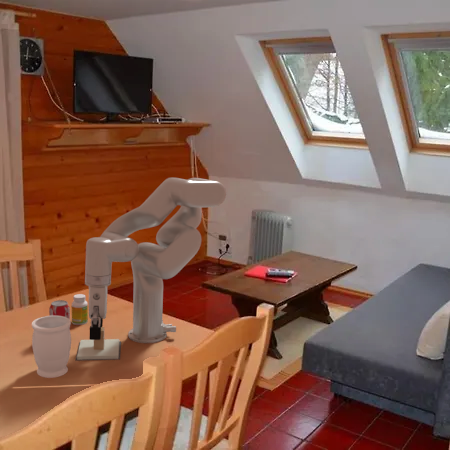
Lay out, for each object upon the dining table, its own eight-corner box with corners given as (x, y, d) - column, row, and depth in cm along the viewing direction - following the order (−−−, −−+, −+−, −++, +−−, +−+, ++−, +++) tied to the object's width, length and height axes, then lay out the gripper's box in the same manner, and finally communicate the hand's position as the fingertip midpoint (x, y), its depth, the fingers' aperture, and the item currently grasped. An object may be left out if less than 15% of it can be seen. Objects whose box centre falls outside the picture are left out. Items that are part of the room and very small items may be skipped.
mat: (121, 342, 180) (121, 341, 180) (120, 360, 167) (120, 359, 167) (79, 343, 178) (79, 342, 178) (75, 361, 165) (75, 360, 165)
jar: (26, 370, 158) (24, 320, 155) (59, 360, 166) (59, 312, 162) (44, 384, 151) (43, 332, 148) (78, 373, 158) (78, 323, 155)
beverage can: (64, 343, 177) (63, 307, 175) (46, 340, 178) (45, 305, 176) (73, 335, 183) (73, 300, 181) (55, 333, 184) (55, 298, 182)
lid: (119, 341, 179) (119, 321, 178) (118, 358, 167) (118, 336, 166) (80, 342, 177) (80, 322, 176) (77, 359, 166) (76, 337, 164)
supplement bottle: (84, 326, 191) (83, 299, 189) (69, 324, 192) (68, 297, 190) (90, 320, 196) (90, 294, 194) (75, 318, 197) (75, 292, 195)
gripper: (109, 287, 160) (107, 344, 163) (112, 271, 176) (109, 323, 179) (82, 287, 158) (80, 344, 161) (87, 270, 175) (85, 322, 178)
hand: (96, 333), depth 170 cm, fingers open, 9 cm apart
